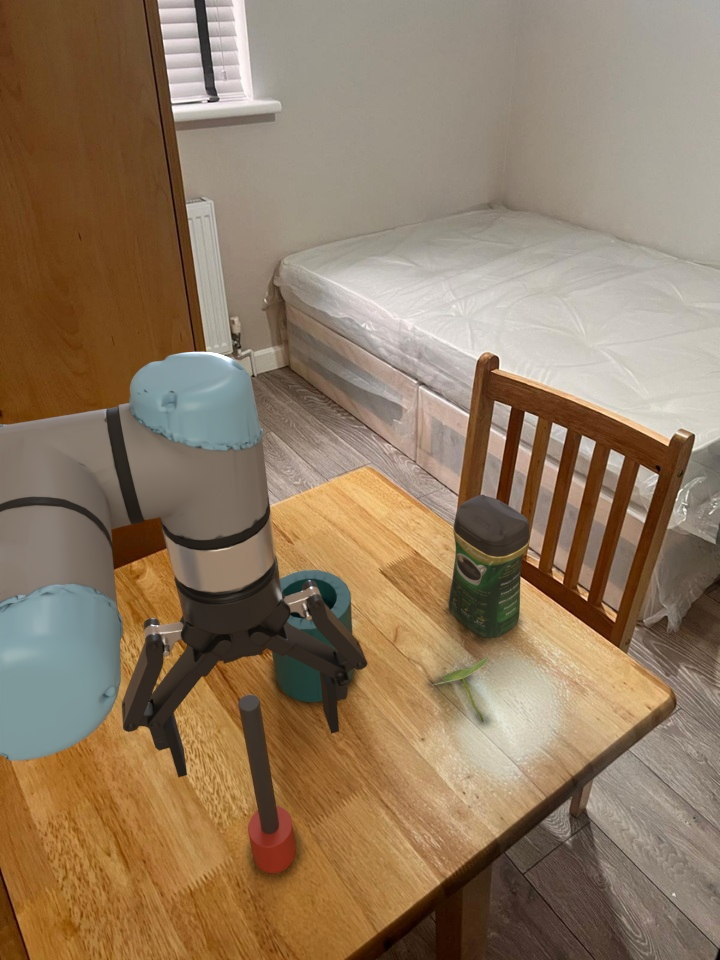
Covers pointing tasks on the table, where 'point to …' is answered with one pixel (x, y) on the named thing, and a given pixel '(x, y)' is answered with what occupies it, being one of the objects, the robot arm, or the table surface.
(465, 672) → the seedling
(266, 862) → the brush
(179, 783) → the table surface
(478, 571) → the coffee jar
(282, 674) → the cup
